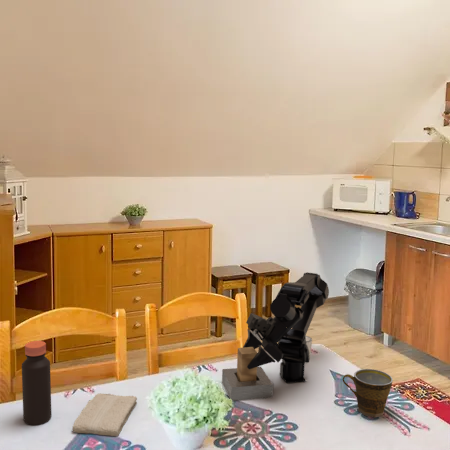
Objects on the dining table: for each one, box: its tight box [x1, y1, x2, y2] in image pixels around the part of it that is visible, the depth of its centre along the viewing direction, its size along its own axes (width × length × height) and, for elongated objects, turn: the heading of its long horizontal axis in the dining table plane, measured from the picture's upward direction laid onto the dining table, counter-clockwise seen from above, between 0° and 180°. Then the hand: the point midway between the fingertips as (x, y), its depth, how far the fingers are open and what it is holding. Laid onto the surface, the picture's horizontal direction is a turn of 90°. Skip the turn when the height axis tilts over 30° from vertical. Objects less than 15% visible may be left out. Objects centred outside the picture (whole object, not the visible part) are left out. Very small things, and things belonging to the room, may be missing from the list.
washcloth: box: [72, 393, 138, 437], centre depth 135 cm, size 12×18×3 cm, turn 175°
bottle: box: [21, 340, 52, 426], centre depth 131 cm, size 7×7×20 cm
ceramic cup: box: [342, 368, 394, 418], centre depth 141 cm, size 13×10×10 cm
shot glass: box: [305, 335, 313, 359], centre depth 175 cm, size 7×7×7 cm
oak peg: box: [236, 347, 258, 382], centre depth 151 cm, size 5×5×12 cm
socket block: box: [221, 366, 274, 402], centre depth 152 cm, size 12×12×4 cm
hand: (244, 361), depth 150 cm, fingers open, 9 cm apart
